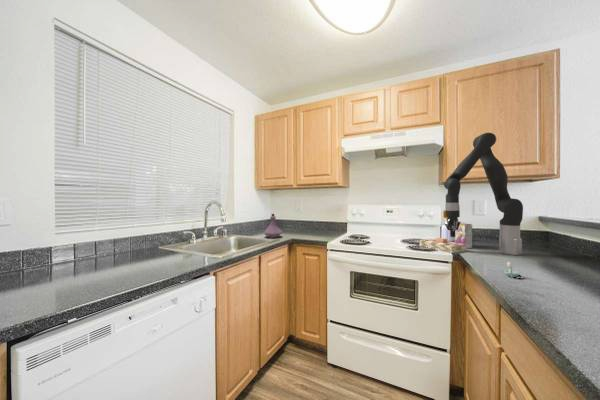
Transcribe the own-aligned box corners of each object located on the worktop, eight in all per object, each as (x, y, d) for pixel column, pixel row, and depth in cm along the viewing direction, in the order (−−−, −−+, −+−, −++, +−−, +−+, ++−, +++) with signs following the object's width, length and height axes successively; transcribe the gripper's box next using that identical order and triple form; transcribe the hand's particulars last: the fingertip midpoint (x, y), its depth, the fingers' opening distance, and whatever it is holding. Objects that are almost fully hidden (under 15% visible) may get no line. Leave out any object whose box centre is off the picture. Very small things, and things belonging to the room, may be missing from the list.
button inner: (458, 248, 143) (458, 243, 143) (453, 249, 141) (453, 244, 141) (450, 247, 147) (450, 242, 147) (446, 247, 145) (446, 243, 145)
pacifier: (521, 276, 98) (503, 272, 102) (522, 261, 98) (503, 259, 102) (524, 281, 92) (505, 277, 96) (525, 266, 92) (505, 263, 96)
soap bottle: (448, 241, 173) (449, 209, 172) (438, 239, 181) (438, 209, 181) (458, 241, 175) (458, 209, 175) (447, 238, 184) (447, 208, 183)
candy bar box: (453, 244, 161) (453, 222, 161) (460, 244, 161) (461, 222, 160) (465, 248, 150) (465, 223, 149) (472, 248, 150) (472, 223, 149)
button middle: (447, 243, 149) (447, 238, 149) (442, 243, 147) (442, 239, 147) (440, 242, 154) (440, 237, 154) (435, 242, 152) (435, 238, 152)
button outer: (437, 244, 156) (437, 240, 156) (432, 245, 154) (432, 240, 154) (430, 243, 160) (430, 238, 160) (426, 243, 158) (426, 239, 158)
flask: (286, 236, 197) (286, 213, 197) (274, 239, 183) (274, 214, 183) (271, 234, 206) (271, 213, 205) (259, 237, 192) (259, 214, 191)
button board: (465, 250, 143) (465, 243, 143) (451, 252, 138) (451, 245, 138) (432, 244, 163) (433, 238, 163) (419, 245, 158) (419, 239, 158)
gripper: (451, 210, 138) (452, 238, 138) (465, 209, 143) (465, 236, 143) (439, 210, 145) (440, 236, 145) (452, 209, 150) (453, 235, 150)
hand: (452, 236), depth 144 cm, fingers closed
